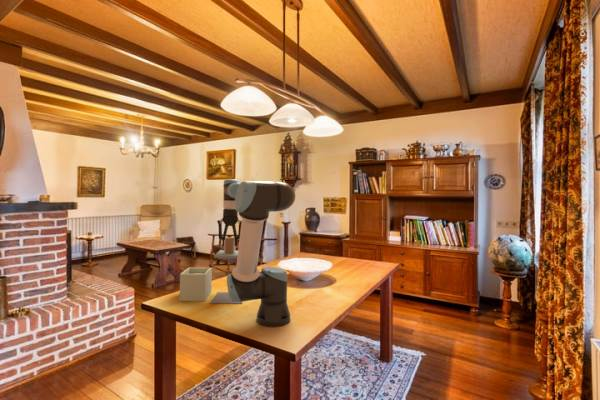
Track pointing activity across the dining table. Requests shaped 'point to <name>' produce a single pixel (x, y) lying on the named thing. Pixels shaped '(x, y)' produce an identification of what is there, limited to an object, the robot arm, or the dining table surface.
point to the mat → (223, 299)
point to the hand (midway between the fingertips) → (229, 252)
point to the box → (195, 284)
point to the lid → (227, 250)
